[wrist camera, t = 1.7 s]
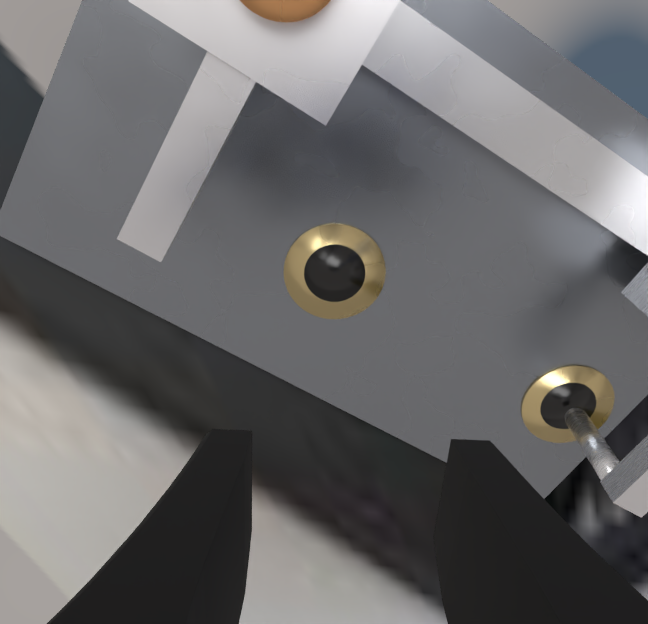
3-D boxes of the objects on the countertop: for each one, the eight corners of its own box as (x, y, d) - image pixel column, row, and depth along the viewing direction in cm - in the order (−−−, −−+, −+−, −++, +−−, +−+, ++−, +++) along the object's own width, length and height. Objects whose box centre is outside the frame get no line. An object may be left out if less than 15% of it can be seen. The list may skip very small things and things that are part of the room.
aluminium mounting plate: (785, 227, 18) (1005, 322, 12) (528, 492, 22) (600, 654, 17) (180, -219, 13) (76, -402, 8) (5, 223, 18) (-146, 318, 12)
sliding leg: (415, -58, 14) (463, -101, 9) (243, 240, 17) (214, 322, 12) (262, -172, 13) (229, -283, 8) (109, 165, 16) (21, 222, 11)
